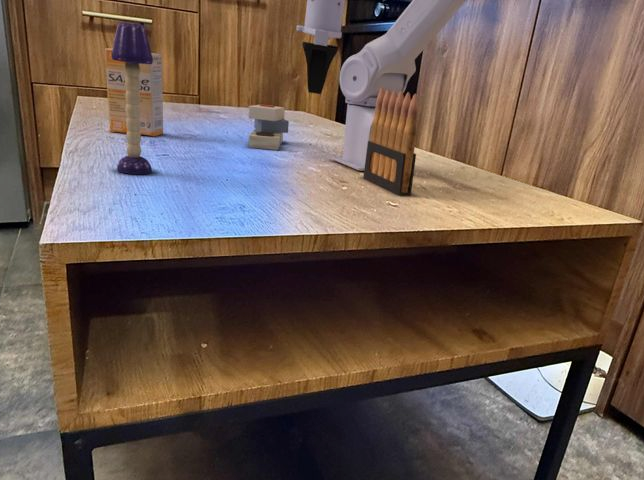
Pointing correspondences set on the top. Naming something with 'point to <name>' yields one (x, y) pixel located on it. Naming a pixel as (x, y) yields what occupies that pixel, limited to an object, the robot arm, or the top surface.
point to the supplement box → (148, 93)
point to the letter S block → (264, 140)
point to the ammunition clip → (393, 142)
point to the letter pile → (269, 119)
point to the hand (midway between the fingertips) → (314, 92)
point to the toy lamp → (132, 90)
